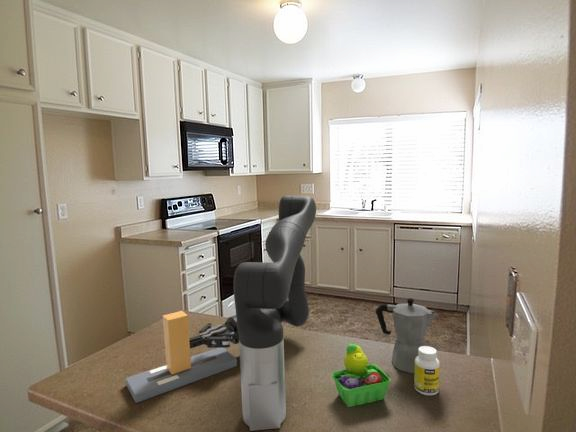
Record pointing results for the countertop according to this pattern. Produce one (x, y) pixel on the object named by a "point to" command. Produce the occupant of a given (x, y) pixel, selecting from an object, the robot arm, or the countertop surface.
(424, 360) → the supplement bottle
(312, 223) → the robot arm
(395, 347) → the coffeepot
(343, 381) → the fruit basket
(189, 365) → the slider tab
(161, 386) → the switch panel
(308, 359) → the countertop surface
